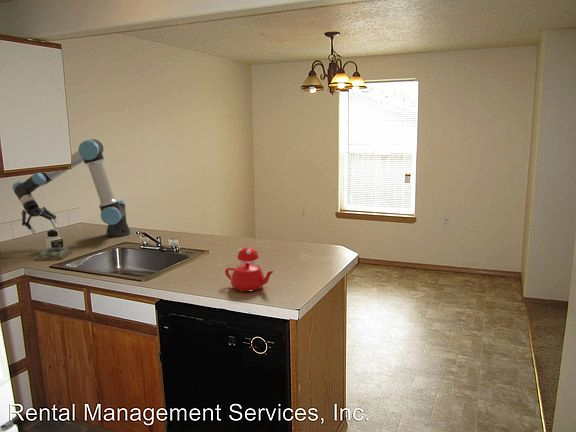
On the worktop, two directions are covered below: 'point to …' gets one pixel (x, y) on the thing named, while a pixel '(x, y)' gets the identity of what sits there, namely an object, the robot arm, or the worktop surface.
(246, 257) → the mushroom
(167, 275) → the worktop surface
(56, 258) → the collar board
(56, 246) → the medicine bottle
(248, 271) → the teapot
